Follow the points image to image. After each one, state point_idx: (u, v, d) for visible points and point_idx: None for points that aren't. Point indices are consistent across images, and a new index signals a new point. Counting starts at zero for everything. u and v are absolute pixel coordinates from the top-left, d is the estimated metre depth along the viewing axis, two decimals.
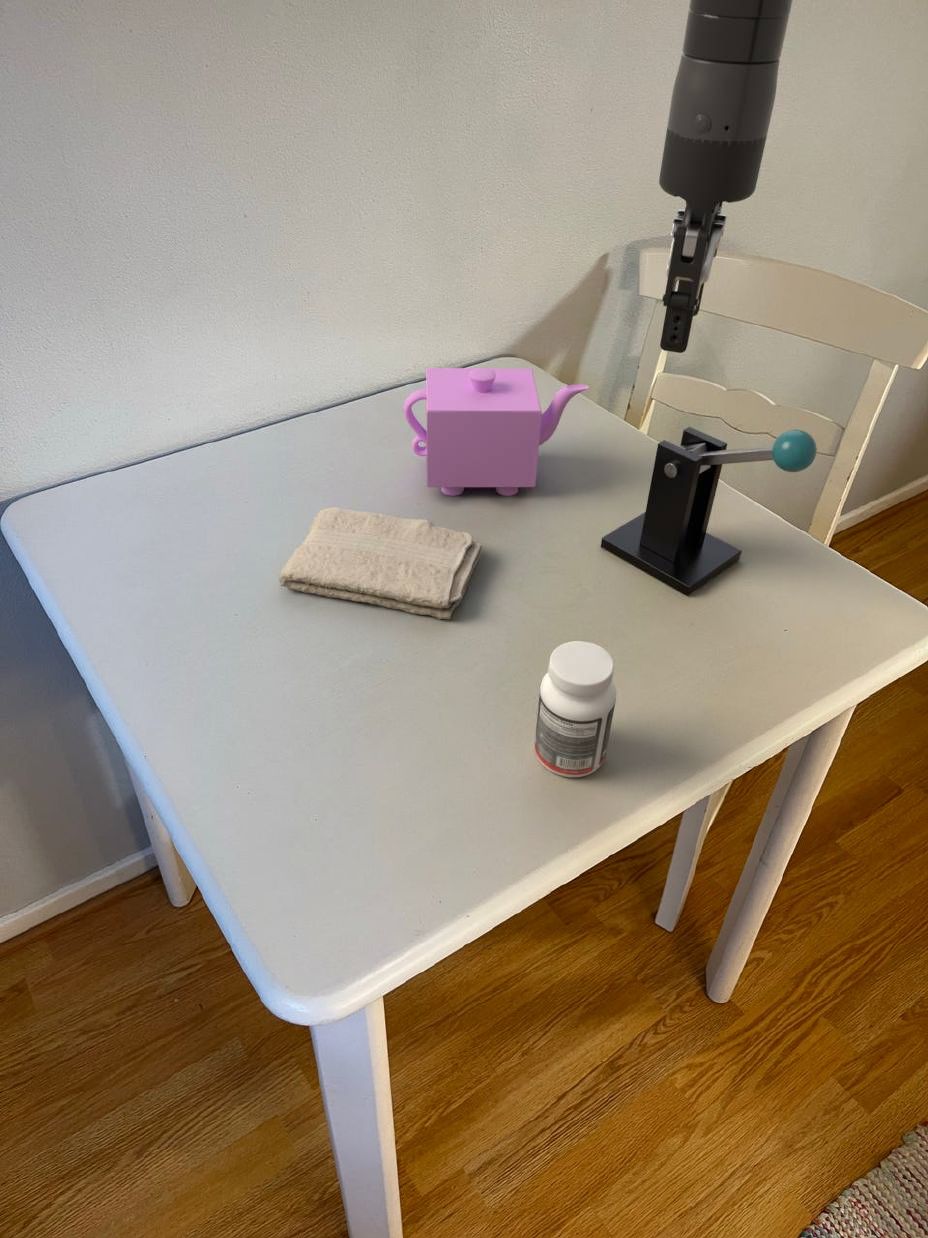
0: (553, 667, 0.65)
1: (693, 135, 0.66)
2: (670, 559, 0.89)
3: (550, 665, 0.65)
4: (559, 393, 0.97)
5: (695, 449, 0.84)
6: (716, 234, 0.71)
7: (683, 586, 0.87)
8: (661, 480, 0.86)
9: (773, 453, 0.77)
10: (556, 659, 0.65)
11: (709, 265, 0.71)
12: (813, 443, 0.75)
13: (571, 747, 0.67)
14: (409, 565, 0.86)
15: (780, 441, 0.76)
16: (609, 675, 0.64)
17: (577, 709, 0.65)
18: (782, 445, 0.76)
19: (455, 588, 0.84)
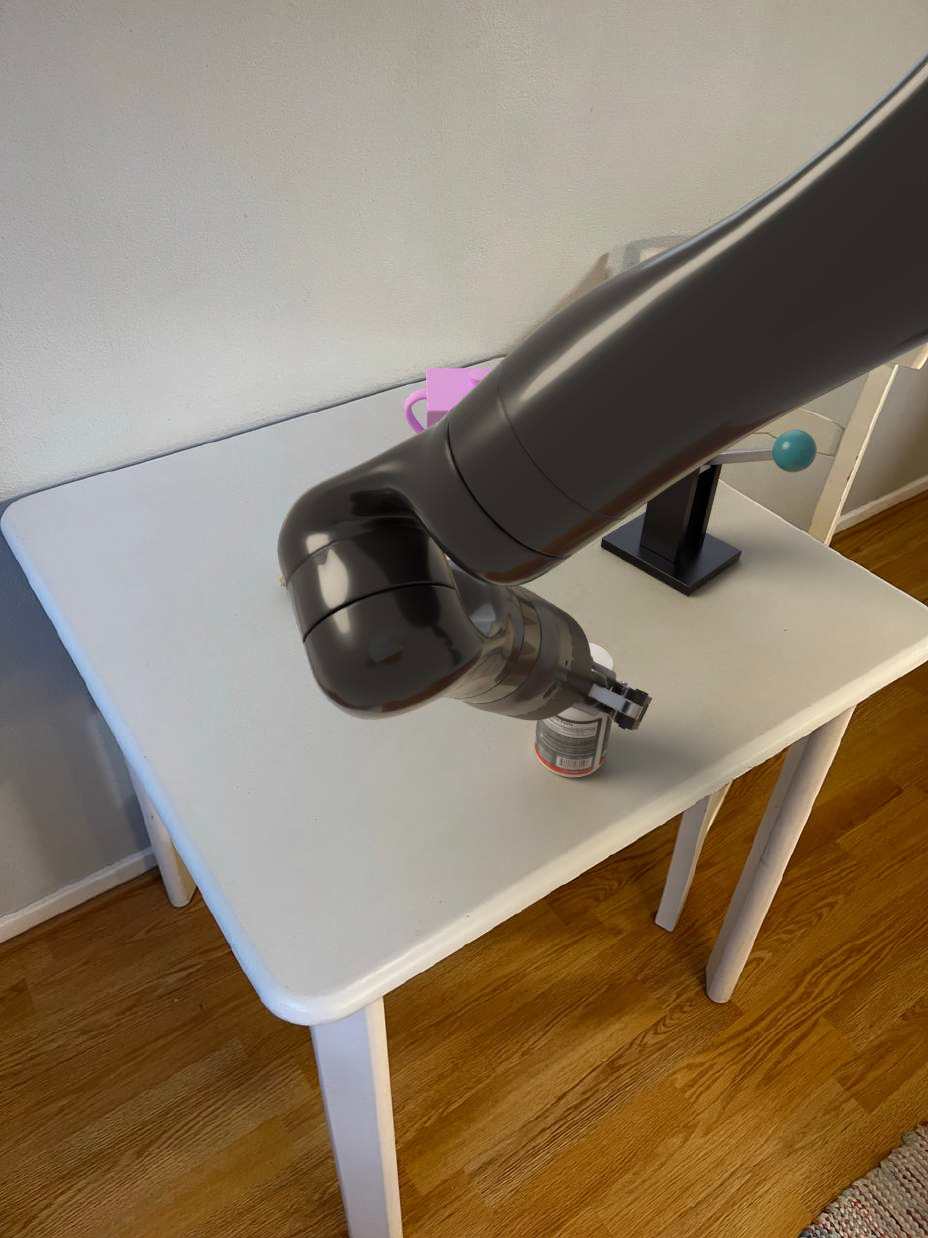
0: None
1: (550, 698, 0.52)
2: (670, 559, 0.89)
3: None
4: None
5: None
6: None
7: (683, 586, 0.87)
8: None
9: (773, 453, 0.77)
10: None
11: (608, 670, 0.61)
12: (813, 443, 0.75)
13: (571, 747, 0.67)
14: None
15: (780, 441, 0.76)
16: None
17: None
18: (782, 445, 0.76)
19: None
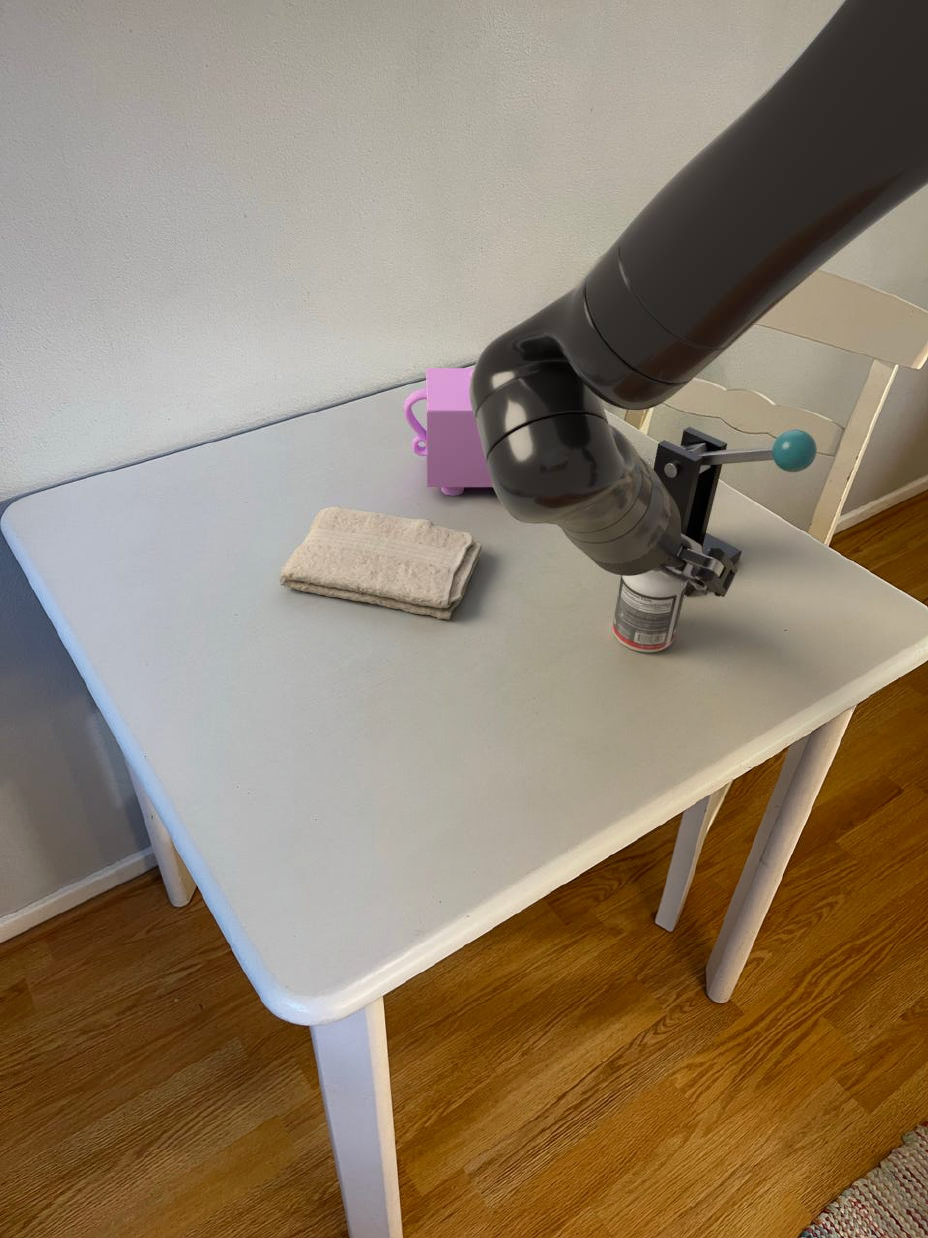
0: None
1: (652, 547, 0.63)
2: None
3: None
4: None
5: (695, 449, 0.84)
6: None
7: None
8: (661, 480, 0.86)
9: (773, 453, 0.77)
10: None
11: (694, 542, 0.71)
12: (813, 443, 0.75)
13: (649, 623, 0.78)
14: (409, 565, 0.86)
15: (780, 441, 0.76)
16: None
17: (656, 586, 0.76)
18: (782, 445, 0.76)
19: (455, 587, 0.84)
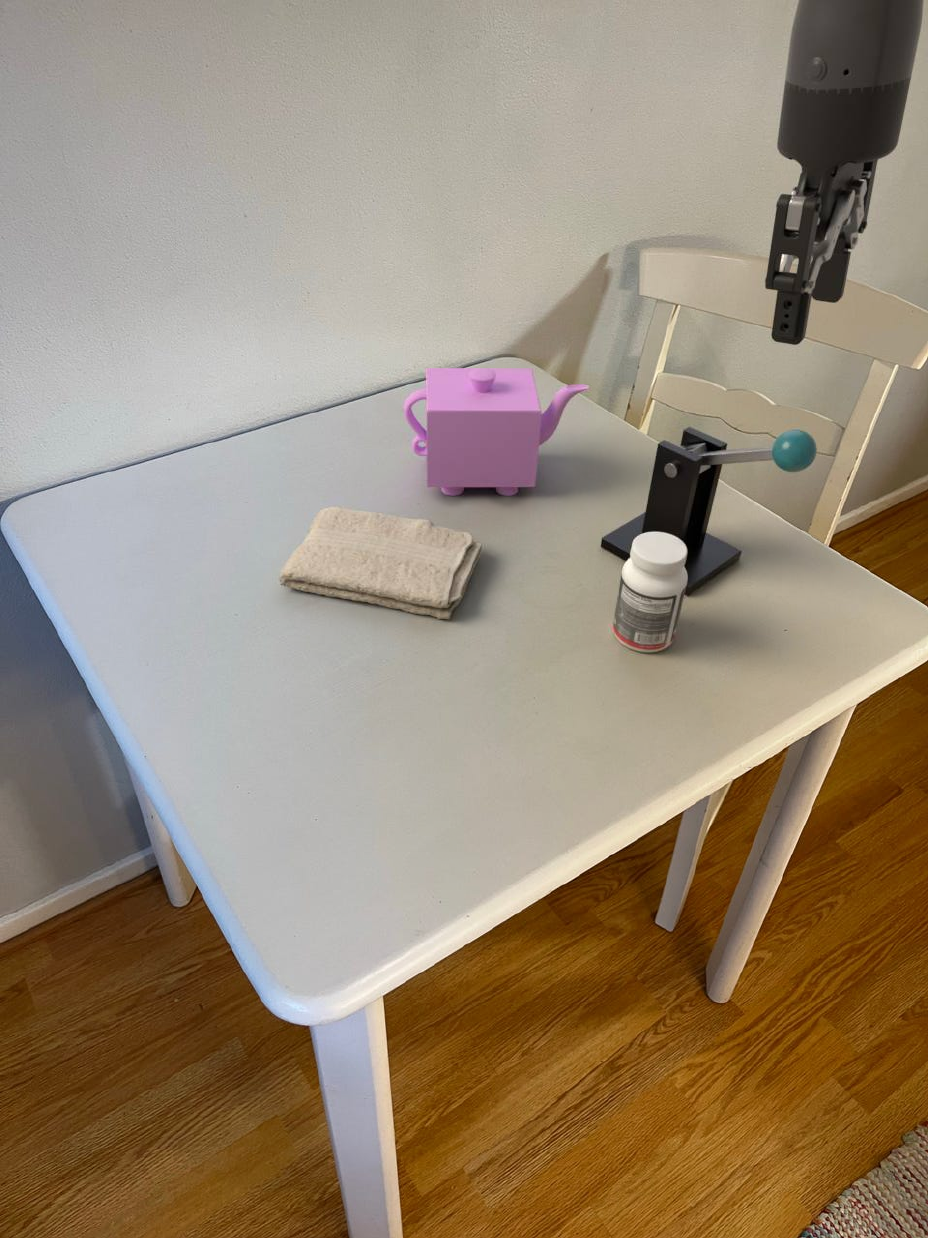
0: (636, 550, 0.76)
1: (807, 84, 0.56)
2: None
3: (633, 549, 0.76)
4: (559, 393, 0.97)
5: (695, 449, 0.84)
6: (842, 203, 0.60)
7: None
8: (661, 480, 0.86)
9: (773, 453, 0.77)
10: (638, 545, 0.76)
11: (830, 240, 0.60)
12: (813, 443, 0.75)
13: (649, 623, 0.78)
14: (409, 565, 0.86)
15: (780, 441, 0.76)
16: (684, 557, 0.75)
17: (656, 586, 0.76)
18: (782, 445, 0.76)
19: (455, 587, 0.84)
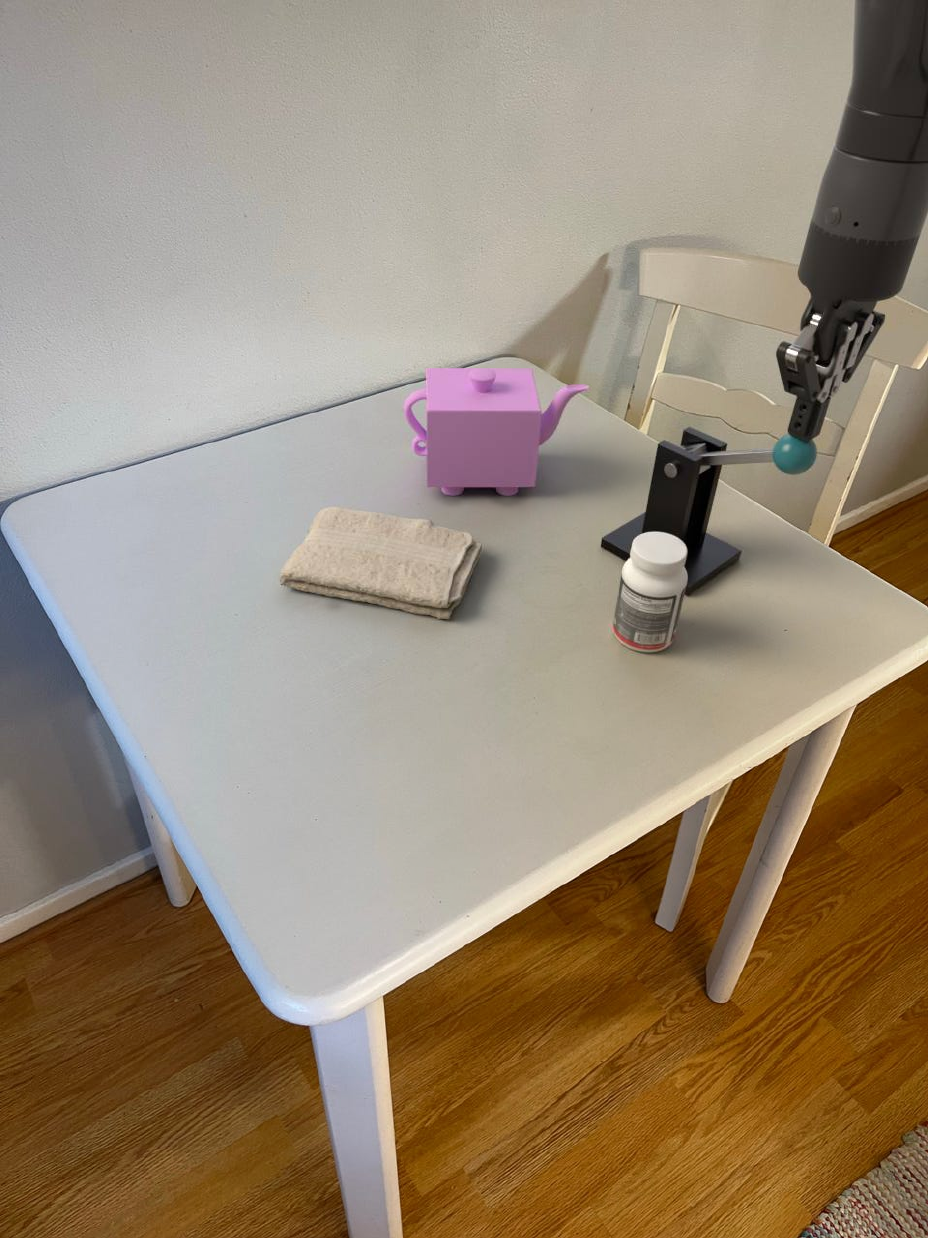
0: (636, 550, 0.76)
1: (824, 226, 0.63)
2: None
3: (633, 549, 0.76)
4: (559, 393, 0.97)
5: (695, 449, 0.84)
6: (842, 337, 0.67)
7: None
8: (661, 480, 0.86)
9: (773, 455, 0.77)
10: (638, 545, 0.76)
11: (834, 367, 0.69)
12: (814, 446, 0.75)
13: (649, 623, 0.78)
14: (409, 565, 0.86)
15: (781, 443, 0.76)
16: (684, 557, 0.75)
17: (656, 586, 0.76)
18: (783, 447, 0.76)
19: (455, 587, 0.84)
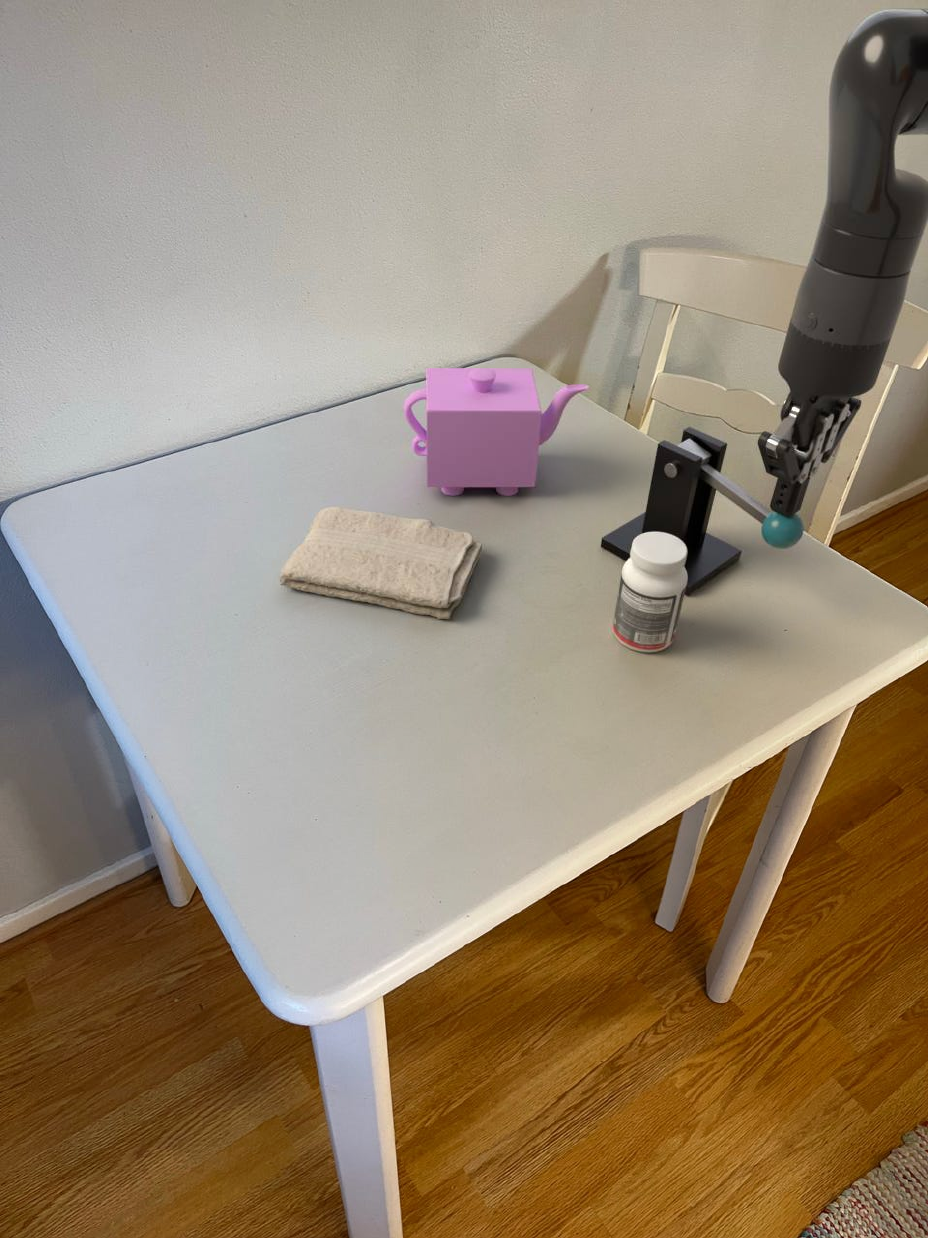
0: (636, 550, 0.76)
1: (801, 329, 0.68)
2: None
3: (633, 549, 0.76)
4: (559, 393, 0.97)
5: None
6: (819, 427, 0.72)
7: None
8: (661, 480, 0.86)
9: (766, 524, 0.80)
10: (638, 545, 0.76)
11: (812, 453, 0.74)
12: (801, 535, 0.80)
13: (649, 623, 0.78)
14: (409, 565, 0.86)
15: (778, 521, 0.80)
16: (684, 557, 0.75)
17: (656, 586, 0.76)
18: (778, 526, 0.80)
19: (455, 587, 0.84)
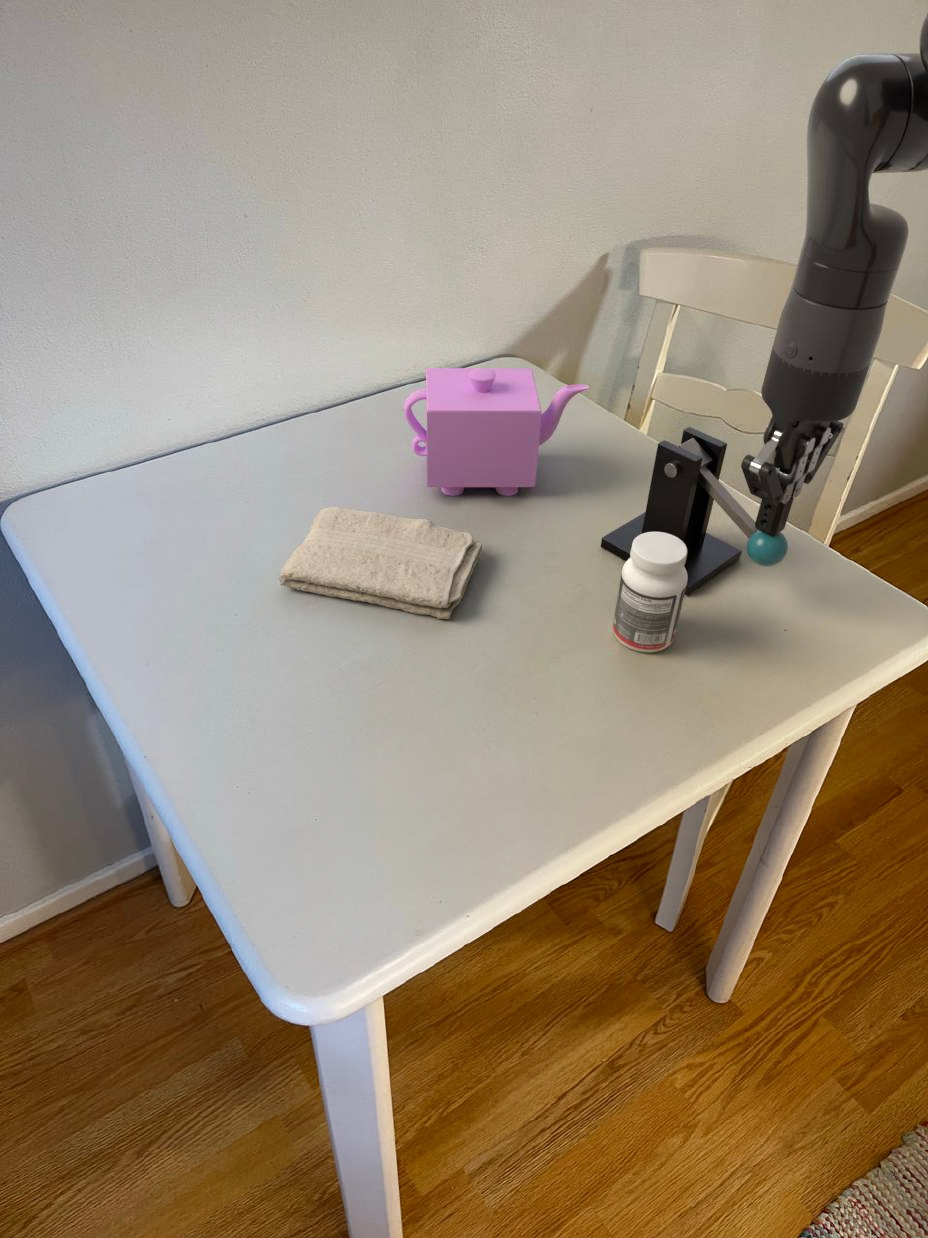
0: (636, 550, 0.76)
1: (783, 357, 0.70)
2: None
3: (633, 549, 0.76)
4: (559, 393, 0.97)
5: (702, 465, 0.84)
6: (801, 450, 0.74)
7: None
8: (661, 480, 0.86)
9: (753, 542, 0.82)
10: (638, 545, 0.76)
11: (795, 475, 0.76)
12: None
13: (649, 623, 0.78)
14: (409, 565, 0.86)
15: (766, 542, 0.81)
16: (684, 557, 0.75)
17: (656, 586, 0.76)
18: (764, 547, 0.82)
19: (455, 587, 0.84)
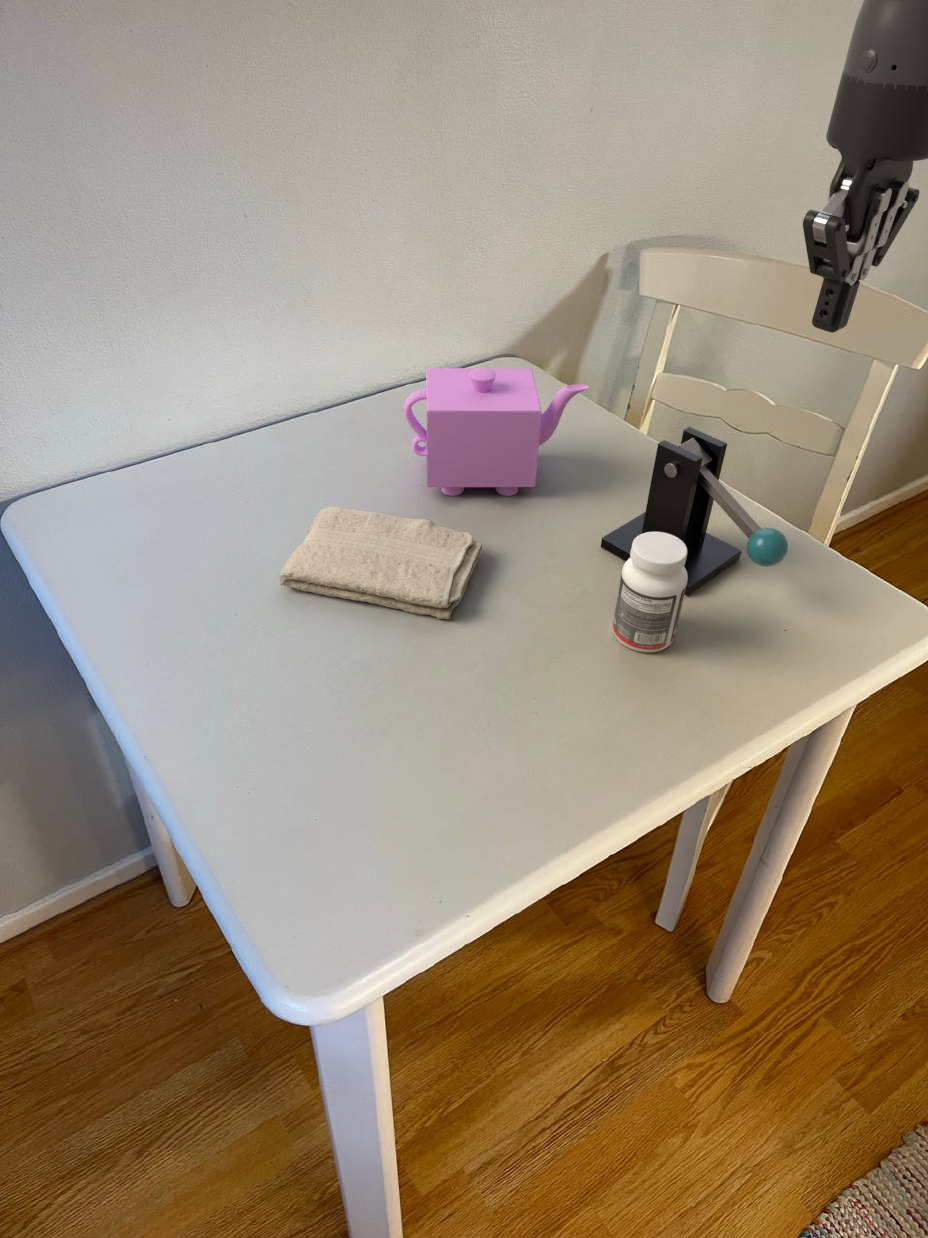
0: (636, 550, 0.76)
1: (857, 74, 0.58)
2: None
3: (633, 549, 0.76)
4: (559, 393, 0.97)
5: (702, 465, 0.84)
6: (875, 206, 0.62)
7: None
8: (661, 480, 0.86)
9: (753, 542, 0.82)
10: (638, 545, 0.76)
11: (865, 242, 0.64)
12: None
13: (649, 623, 0.78)
14: (409, 564, 0.86)
15: (766, 542, 0.81)
16: (684, 557, 0.75)
17: (656, 586, 0.76)
18: (764, 547, 0.82)
19: (455, 587, 0.84)
